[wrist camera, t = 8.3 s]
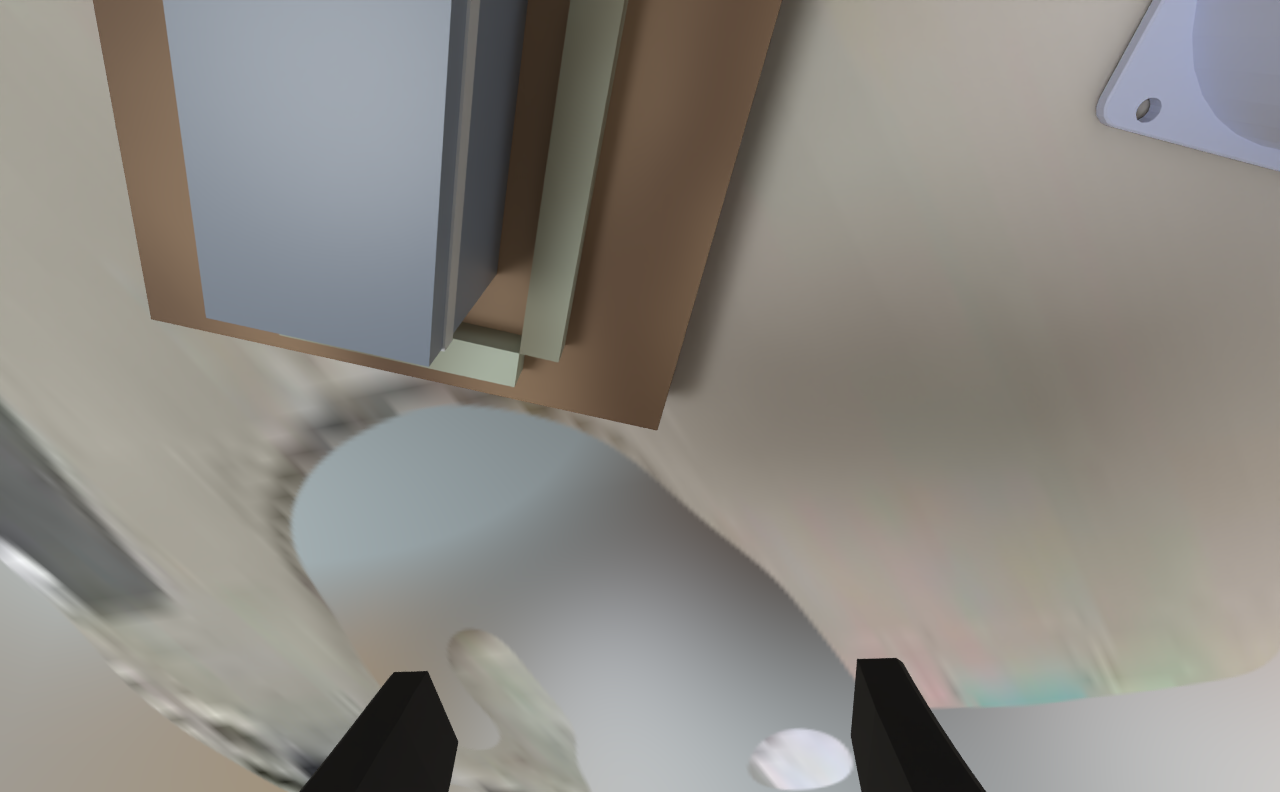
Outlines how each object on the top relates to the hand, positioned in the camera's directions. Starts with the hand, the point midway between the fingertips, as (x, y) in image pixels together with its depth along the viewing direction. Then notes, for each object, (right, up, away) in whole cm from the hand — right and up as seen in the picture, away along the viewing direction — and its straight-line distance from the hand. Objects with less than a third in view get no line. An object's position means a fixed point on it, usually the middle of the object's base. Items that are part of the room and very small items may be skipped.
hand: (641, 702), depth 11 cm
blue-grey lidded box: (-5, +12, +3) cm, 13 cm away
